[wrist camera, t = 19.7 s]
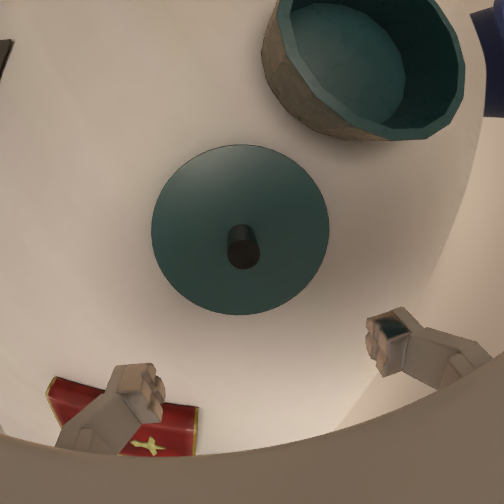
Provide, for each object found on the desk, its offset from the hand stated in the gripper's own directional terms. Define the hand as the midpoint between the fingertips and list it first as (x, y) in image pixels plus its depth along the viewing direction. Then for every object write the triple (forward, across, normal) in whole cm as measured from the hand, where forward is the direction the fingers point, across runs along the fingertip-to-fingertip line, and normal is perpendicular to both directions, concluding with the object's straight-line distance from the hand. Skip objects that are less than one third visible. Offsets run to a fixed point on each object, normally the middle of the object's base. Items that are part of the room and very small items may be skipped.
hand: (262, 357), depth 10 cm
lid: (+16, 0, 0) cm, 16 cm away
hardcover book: (+17, +22, +24) cm, 37 cm away
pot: (+17, -12, -14) cm, 25 cm away
